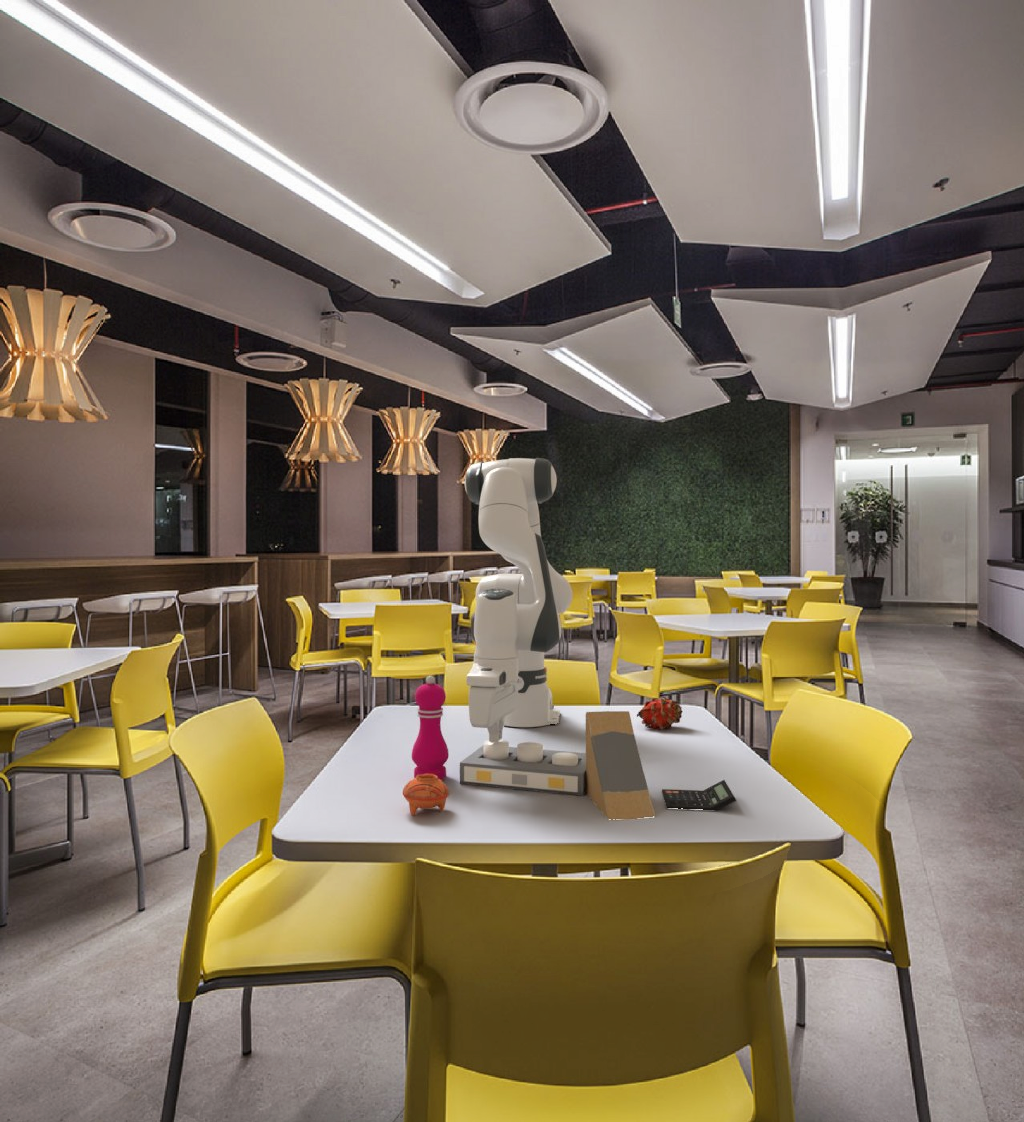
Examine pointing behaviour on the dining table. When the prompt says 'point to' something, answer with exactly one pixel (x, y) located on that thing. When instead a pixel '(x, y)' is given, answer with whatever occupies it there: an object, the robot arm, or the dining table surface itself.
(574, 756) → the button container side
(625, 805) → the sandwich container
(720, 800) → the calculator
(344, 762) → the dining table surface
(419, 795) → the pot
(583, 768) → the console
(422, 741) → the pepper mill
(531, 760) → the button middle
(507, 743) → the ball
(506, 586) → the robot arm
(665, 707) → the dragon fruit
